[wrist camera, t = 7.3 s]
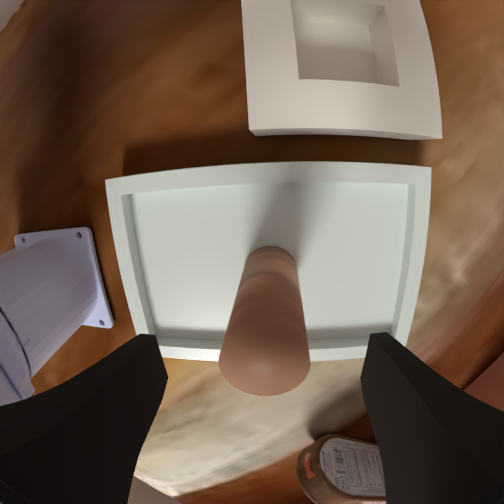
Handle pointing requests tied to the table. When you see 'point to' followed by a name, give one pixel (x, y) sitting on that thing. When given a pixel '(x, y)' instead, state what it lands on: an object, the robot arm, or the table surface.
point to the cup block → (340, 69)
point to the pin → (266, 327)
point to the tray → (272, 234)
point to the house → (490, 385)
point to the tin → (341, 471)
